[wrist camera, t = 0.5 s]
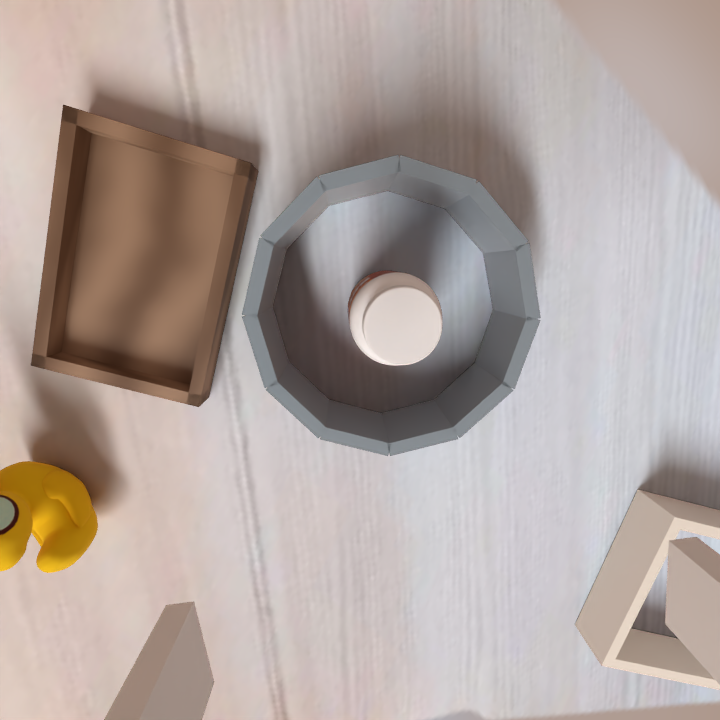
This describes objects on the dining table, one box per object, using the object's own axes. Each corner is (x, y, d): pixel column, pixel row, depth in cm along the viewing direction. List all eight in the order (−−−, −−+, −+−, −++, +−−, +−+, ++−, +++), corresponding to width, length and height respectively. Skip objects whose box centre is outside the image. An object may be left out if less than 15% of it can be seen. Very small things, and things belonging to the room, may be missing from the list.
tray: (53, 358, 34) (31, 365, 32) (86, 118, 31) (63, 104, 28) (208, 397, 36) (198, 406, 33) (258, 171, 32) (251, 162, 29)
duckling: (-11, 455, 36) (-141, 524, 26) (33, 418, 36) (-83, 476, 26) (85, 543, 38) (-2, 637, 29) (128, 510, 38) (54, 594, 28)
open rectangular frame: (574, 624, 43) (601, 665, 38) (637, 489, 40) (674, 517, 35) (717, 655, 44) (759, 697, 40) (789, 528, 41) (842, 559, 37)
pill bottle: (353, 265, 34) (358, 263, 23) (426, 276, 34) (465, 280, 24) (342, 339, 35) (343, 370, 24) (413, 348, 36) (444, 384, 25)
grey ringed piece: (241, 388, 36) (219, 414, 29) (297, 147, 32) (286, 117, 25) (457, 443, 38) (480, 478, 31) (535, 223, 34) (580, 213, 27)
